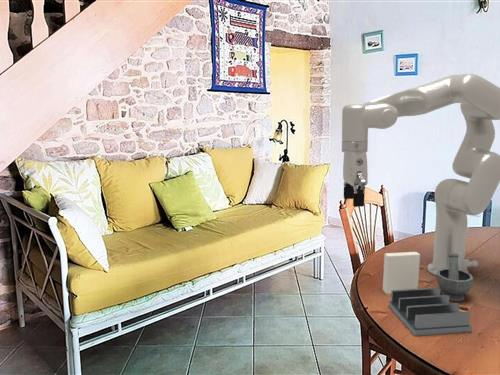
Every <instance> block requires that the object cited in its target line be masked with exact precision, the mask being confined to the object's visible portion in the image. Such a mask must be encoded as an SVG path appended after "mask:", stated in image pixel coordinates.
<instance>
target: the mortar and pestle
mask: <svg viewBox="0 0 500 375" xmlns="http://www.w3.org/2000/svg"><path fill="white" fill-rule="evenodd" d="M458 257H459V255H458V254H456V253H450V254H449V269H441V270H439V271H437V276H436V281H437V285H438V287H439V288H440V291H441V295H449V296H450V298H449V301H451V302H452V301H453V302H462V301H464V300H465V294H467V293H468V292H469V291H470V290H471V289H472V286H473V283H474V278H473V275H472V274H471V273H469V272H468V273H467V272H465V271H462V270H458Z"/></svg>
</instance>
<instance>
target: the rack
mask: <svg viewBox="0 0 500 375" xmlns="http://www.w3.org/2000/svg"><path fill="white" fill-rule="evenodd" d="M390 295H391V296H390V301H388V307H389V309H391V311H392V312H393V313H394V314H395V316H396V317H397V318H398V319H399V320H400V321H401V322H402V323H403V324H404V326H405V327H406V328H407V329H408V330H409V332H410V333H411V334H412V335H413V336H414V337H419V336H420V335H421V336H433V335H445V334H457V333H460V334H463V333H472V330H473V329H472V328H473V326H472V325H471V324H470V323H471V322H470V320H471V312H470V311H460V303H459V302H450V300H449V298H450V296H449V295H442V294H441V289H440V287H439V286H438V287H425V288H424V287H423V288H418V289H405V290H392V292H391V294H390Z"/></svg>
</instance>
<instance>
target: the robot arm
mask: <svg viewBox="0 0 500 375" xmlns="http://www.w3.org/2000/svg"><path fill="white" fill-rule="evenodd" d="M454 104H460V111H461V114H462V115H463V118H464V120H465V124H466V129H465V130H466V131H465V134H464V137H463V139H462V141H461V144H460V146H459V148H458V150H457V153H456V154H455V157H454V159H453V162H452V170H453V172H454V173H455V174H456V175H458V176H460V177H463V178H466V179H469V181H464V180H460V179H457V178H446V179H445V178H444V179H443V180H441V181H440V182H439V183H438V184H437V185H436V187H435V190H434V203H435V213H436V214H435V228H434V239H433V240H434V242H433V243H434V244H433V257H432V262H430V263H429V264H427V271H428V272H429V273H430V274H432V275H434V276H436V277H437V271H439V270H441V269H449V254H450V253H456V254H458V255H459V257H458V270H462V271H465V272H467V273H469V270H468V268H470V267H473V268H475V267H478V266H479V262H478V260H470V259H468V258H467V259H466V258H465V256H466V255H465V254H466V245H467V234H468V232H467V231H468V222H469V221H468V216H467V215H469V216H478V215H480V214H482V213H483V212H485V210H486V209H487V208H488V207H489V205H490V204H491V200H492V199H493V197H494V194H495V193H496V191H497V188H498V187H499V184H500V154H498V153H496V152H494V151H491V149H492V145H493V143H494V141H495V138H496V130H495V126H494V122H493V121H499V120H500V87H499V86H497V85H496V84H494V83H492V82H491V81H489V80H488V79H486V78H484V77H481V76H479V75H477V74H474V73H464V74H461V73H460V74H452V75H448V76H444V77H442V78H439V79H436V80H433V81H430V82H427V83H425V84H422V85H419V86H416V87H413V88H412V87H411V88H408V89H405V90H402V91H398V92H396V93H392V94H388V95H385V96H381V97H378V98H375V99H373V100H370V101H367V102H365V103H363V104H358V103H357V104H345V105H344V106H343V107H342V110H341V113H342V116H341V152H342V153H343V165H342V166H343V167H342V178H343V199H344V200H352V206H353V207H354V208H355V207H356V208H359V207H364V206H365V194H366V193H365V192H366V191H365V190H366V186H367V185H368V183H369V182H368V180H369V179H368V178H369V177H368V174H369V173H368V172H369V171H368V158H367V155H368V154H367V152H368V151H369V150H368V148H369V147H368V145H369V144H368V143H369V140H368V138H369V129H380V130H385V129H389V128H391V127H393V126H394V125H395V124H396V122H397V121H398V118H401V117H415V116H422V115H425V114H428V113H431V112H434V111H437V110H439V109H442V108H445V107H448V106H451V105H454Z"/></svg>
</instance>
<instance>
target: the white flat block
mask: <svg viewBox="0 0 500 375" xmlns="http://www.w3.org/2000/svg"><path fill="white" fill-rule="evenodd" d="M383 257H384V258H383V278H382V291H383V293H384V294H385V295H391V292H392V290H405V289H419V277H420V263H421V254H420V253H418V252H417V251H408V252H407V251H406V252H403V251H402V252H386V253H384V255H383Z"/></svg>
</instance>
